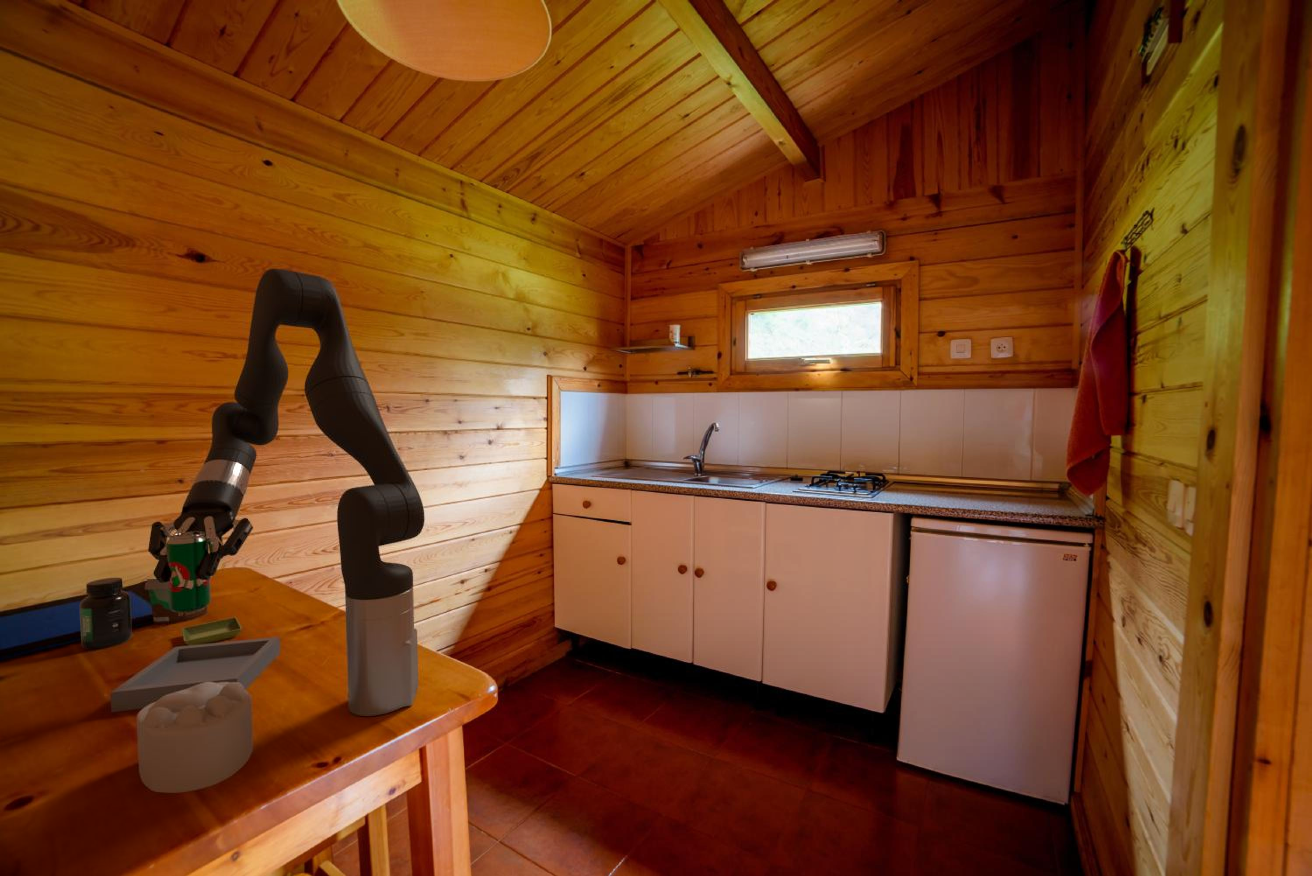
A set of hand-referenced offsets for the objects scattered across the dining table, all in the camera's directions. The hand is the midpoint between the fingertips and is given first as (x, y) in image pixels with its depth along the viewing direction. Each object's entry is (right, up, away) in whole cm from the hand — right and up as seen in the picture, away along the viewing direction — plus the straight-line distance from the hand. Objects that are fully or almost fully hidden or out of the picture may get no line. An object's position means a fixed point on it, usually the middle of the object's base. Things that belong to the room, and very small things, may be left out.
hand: (182, 578), depth 85 cm
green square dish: (-13, -18, +22) cm, 31 cm away
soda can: (-1, -5, +2) cm, 6 cm away
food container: (-26, -17, +32) cm, 45 cm away
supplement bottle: (-31, -17, +19) cm, 41 cm away
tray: (0, -18, +5) cm, 19 cm away
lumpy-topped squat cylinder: (+17, -19, -17) cm, 30 cm away
